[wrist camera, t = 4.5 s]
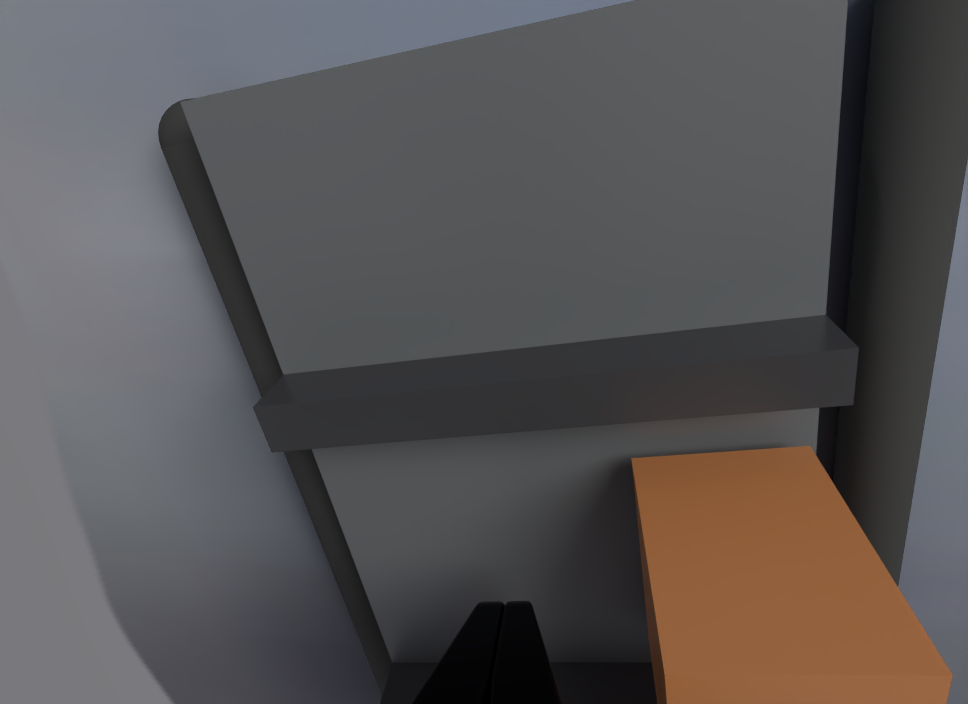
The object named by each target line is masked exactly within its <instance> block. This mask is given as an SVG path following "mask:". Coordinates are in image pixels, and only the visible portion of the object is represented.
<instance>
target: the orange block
mask: <svg viewBox="0 0 968 704" xmlns="http://www.w3.org/2000/svg"><path fill="white" fill-rule="evenodd" d="M631 459H632V470H633V480H634V491H635V501H636V512H637V522H638V533H639V543H640V554H641V564H642V575H643V585H644V596H645V606H646V617H647V627H648V638H649V645H650V653H651V660H652V667H653V675H654V682H655V689H656V697H657V704H946V702H947V698H948V694H949V690H950V685H951V681H952V677H953V675H952V673H951V672H950V670H949V669H948V667H947V665H946V664H945V662H944V660H943V659H942V657H941V656H940V654H939V652H938V651H937V649H936V648H935V646H934V644H933V643H932V641H931V640H930V638H929V636H928V635H927V633H926V632H925V630H924V628H923V627H922V625H921V623H920V622H919V620H918V619H917V617H916V615H915V614H914V612H913V611H912V609H911V607H910V606H909V604H908V603H907V601H906V599H905V598H904V596H903V594H902V593H901V591H900V590H899V588H898V586H897V585H896V583H895V582H894V580H893V578H892V577H891V575H890V574H889V572H888V570H887V569H886V567H885V566H884V564H883V562H882V561H881V559H880V557H879V556H878V554H877V553H876V551H875V549H874V548H873V546H872V545H871V543H870V541H869V540H868V538H867V537H866V535H865V533H864V532H863V530H862V528H861V527H860V525H859V524H858V522H857V520H856V519H855V517H854V516H853V514H852V512H851V511H850V509H849V508H848V506H847V504H846V503H845V501H844V500H843V498H842V496H841V495H840V493H839V491H838V490H837V488H836V487H835V485H834V483H833V482H832V480H831V479H830V477H829V475H828V474H827V472H826V471H825V469H824V467H823V466H822V464H821V462H820V461H819V459H818V458H817V456H816V454H815V453H814V451H813V450H812V448H811V446H799V447H785V448H771V449H756V450H742V451H727V452H713V453H699V454H684V455H670V456H655V457H641V458H631Z"/></svg>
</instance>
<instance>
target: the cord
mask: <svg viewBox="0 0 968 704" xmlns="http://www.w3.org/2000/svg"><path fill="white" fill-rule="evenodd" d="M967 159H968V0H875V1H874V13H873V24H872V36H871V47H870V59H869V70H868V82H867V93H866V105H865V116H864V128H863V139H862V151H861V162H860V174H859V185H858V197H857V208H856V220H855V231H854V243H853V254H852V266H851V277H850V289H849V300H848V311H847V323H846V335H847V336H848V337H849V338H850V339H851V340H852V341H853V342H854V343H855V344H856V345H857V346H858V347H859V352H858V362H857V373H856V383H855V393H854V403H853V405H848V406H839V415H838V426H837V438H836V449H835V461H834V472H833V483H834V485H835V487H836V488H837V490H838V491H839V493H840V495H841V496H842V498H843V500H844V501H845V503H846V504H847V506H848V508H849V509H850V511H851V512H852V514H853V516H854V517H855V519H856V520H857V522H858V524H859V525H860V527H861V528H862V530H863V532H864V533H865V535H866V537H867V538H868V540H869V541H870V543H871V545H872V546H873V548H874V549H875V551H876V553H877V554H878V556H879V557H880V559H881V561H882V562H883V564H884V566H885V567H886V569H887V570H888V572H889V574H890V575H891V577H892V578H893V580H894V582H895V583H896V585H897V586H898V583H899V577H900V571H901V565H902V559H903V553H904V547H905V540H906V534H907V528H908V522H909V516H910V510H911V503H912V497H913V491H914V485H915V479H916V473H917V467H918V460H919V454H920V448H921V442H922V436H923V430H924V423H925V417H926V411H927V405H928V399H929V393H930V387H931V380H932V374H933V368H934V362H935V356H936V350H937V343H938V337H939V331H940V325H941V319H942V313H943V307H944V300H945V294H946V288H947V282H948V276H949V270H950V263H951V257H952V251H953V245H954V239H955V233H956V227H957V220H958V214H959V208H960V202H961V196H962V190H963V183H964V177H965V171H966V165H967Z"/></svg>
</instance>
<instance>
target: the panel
mask: <svg viewBox="0 0 968 704" xmlns="http://www.w3.org/2000/svg"><path fill="white" fill-rule="evenodd" d="M847 7H848V0H635V1H631V2H626V3H622V4H617V5H613V6H608V7H604V8H599V9H595V10H590V11H586V12H581V13H577V14H572V15H568V16H563V17H559V18H554V19H550V20H545V21H541V22H536V23H532V24H528V25H523V26H519V27H514V28H510V29H505V30H501V31H496V32H492V33H487V34H483V35H478V36H474V37H469V38H465V39H460V40H456V41H451V42H447V43H442V44H438V45H433V46H429V47H424V48H420V49H415V50H411V51H406V52H402V53H397V54H393V55H388V56H384V57H379V58H375V59H370V60H366V61H361V62H357V63H352V64H348V65H344V66H339V67H335V68H330V69H326V70H321V71H317V72H312V73H308V74H303V75H299V76H294V77H290V78H285V79H281V80H276V81H272V82H267V83H263V84H258V85H254V86H249V87H245V88H240V89H236V90H231V91H227V92H222V93H218V94H213V95H209V96H204V97H200V98H195V99H191V100H186V101H182V102H180V103H181V106H182V108H183V111H184V114H185V116H186V119H187V122H188V124H189V127H190V129H191V132H192V135H193V137H194V140H195V143H196V145H197V148H198V151H199V153H200V156H201V159H202V161H203V164H204V166H205V169H206V172H207V174H208V177H209V180H210V182H211V185H212V188H213V190H214V193H215V195H216V198H217V201H218V203H219V206H220V209H221V211H222V214H223V217H224V219H225V222H226V225H227V227H228V230H229V232H230V235H231V238H232V240H233V243H234V246H235V248H236V251H237V254H238V256H239V259H240V261H241V264H242V267H243V269H244V272H245V275H246V277H247V280H248V283H249V285H250V288H251V291H252V293H253V296H254V298H255V301H256V304H257V306H258V309H259V312H260V314H261V317H262V320H263V322H264V325H265V327H266V330H267V333H268V335H269V338H270V341H271V343H272V346H273V349H274V351H275V354H276V357H277V359H278V362H279V364H280V367H281V370H282V372H283V375H282V376H281V378H280V379H279V380H278V381H277V382H276V383H275V384H274V385H273V386H272V387H271V389H270V390H269V391H268V392H267V393H266V394H265V395H264V396H263V397H262V398H261V399H260V401H259V402H258V403H257V404H256V405H255V406H254V407H253V408H254V411H255V413H256V415H257V418H258V420H259V423H260V425H261V427H262V430H263V432H264V435H265V437H266V440H267V442H268V444H269V447H270V449H271V452H281V451H294V450H306V449H312V452H313V454H314V457H315V460H316V462H317V465H318V467H319V470H320V473H321V475H322V478H323V481H324V483H325V486H326V489H327V491H328V494H329V496H330V499H331V502H332V504H333V507H334V510H335V512H336V515H337V518H338V520H339V523H340V526H341V528H342V531H343V533H344V536H345V539H346V541H347V544H348V547H349V549H350V552H351V555H352V557H353V560H354V562H355V565H356V568H357V570H358V573H359V576H360V578H361V581H362V584H363V586H364V589H365V592H366V594H367V597H368V599H369V602H370V605H371V607H372V610H373V613H374V615H375V618H376V621H377V623H378V626H379V628H380V631H381V634H382V636H383V639H384V642H385V644H386V647H387V650H388V652H389V655H390V658H391V660H392V666H391V669H390V672H389V676H388V679H387V683H386V686H385V689H384V693H383V696H382V700H381V703H380V704H411V703H412V702H413V700H414V699H415V697H416V696H417V694H418V693H419V691H420V690H421V688H422V687H423V685H424V684H425V682H426V681H427V679H428V677H429V676H430V674H431V673H432V671H433V670H434V668H435V667H436V665H437V664H438V662H439V661H440V659H441V658H442V656H443V655H444V653H445V652H446V650H447V649H448V647H449V645H450V644H451V642H452V641H453V639H454V638H455V636H456V635H457V633H458V632H459V630H460V629H461V627H462V626H463V624H464V623H465V621H466V620H467V618H468V617H469V615H470V614H471V612H472V610H473V609H474V607H475V606H476V605H477V604H478V603H480V602H483V601H501V602H503V603H504V604H506V602H508V601H530V602H531V603H532V606H533V609H534V612H535V615H536V619H537V622H538V625H539V629H540V632H541V635H542V639H543V642H544V645H545V649H546V652H547V655H548V659H549V662H550V665H551V668H552V672H553V675H554V678H555V682H556V685H557V688H558V692H559V695H560V698H561V702H562V704H657V697H656V689H655V682H654V675H653V667H652V660H651V653H650V645H649V638H648V627H647V617H646V606H645V596H644V585H643V575H642V564H641V554H640V543H639V533H638V522H637V512H636V501H635V491H634V480H633V470H632V459H631V458H641V457H655V456H670V455H684V454H699V453H713V452H727V451H742V450H756V449H771V448H785V447H799V446H811V448H812V450H813V451H814V453H815V454H816V449H817V434H818V420H819V408H823V407H836V406H848V405H853V403H854V393H855V383H856V373H857V362H858V352H859V347H858V346H857V345H856V344H855V343H854V342H853V341H852V340H851V339H850V338H849V337H848V336H847V335H846V334H845V333H844V332H843V331H842V330H841V329H840V328H839V327H838V326H837V325H836V324H835V323H834V322H833V321H832V320H831V319H830V318H829V317H828V316H827V315H826V306H827V292H828V278H829V263H830V249H831V235H832V221H833V206H834V192H835V178H836V164H837V149H838V135H839V121H840V107H841V92H842V78H843V64H844V50H845V35H846V21H847Z"/></svg>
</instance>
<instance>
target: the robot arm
mask: <svg viewBox="0 0 968 704" xmlns="http://www.w3.org/2000/svg"><path fill="white" fill-rule="evenodd" d="M411 704H562V702H561V698H560V695H559V692H558V688H557V685H556V682H555V678H554V675H553V672H552V668H551V665H550V662H549V659H548V655H547V652H546V649H545V645H544V642H543V639H542V635H541V632H540V629H539V625H538V622H537V619H536V615H535V612H534V609H533V606H532V603H531V602H530V601H508V602H506V604H504V603H503V602H501V601H483V602H480V603H478V604H477V605H476V606H475V607H474V609H473V610H472V612H471V614H470V615H469V617H468V618H467V620H466V621H465V623H464V624H463V626H462V627H461V629H460V630H459V632H458V633H457V635H456V636H455V638H454V639H453V641H452V642H451V644H450V645H449V647H448V649H447V650H446V652H445V653H444V655H443V656H442V658H441V659H440V661H439V662H438V664H437V665H436V667H435V668H434V670H433V671H432V673H431V674H430V676H429V677H428V679H427V681H426V682H425V684H424V685H423V687H422V688H421V690H420V691H419V693H418V694H417V696H416V697H415V699H414V700H413V702H412V703H411Z"/></svg>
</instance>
